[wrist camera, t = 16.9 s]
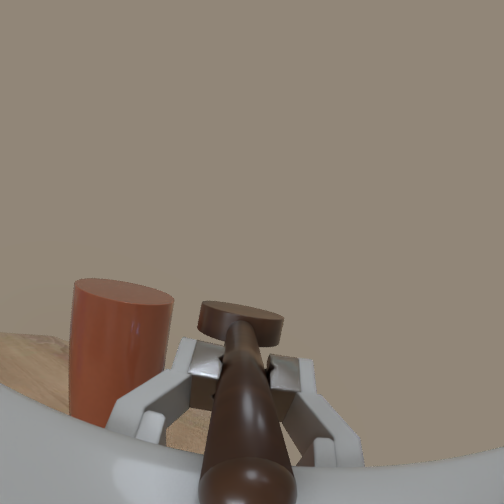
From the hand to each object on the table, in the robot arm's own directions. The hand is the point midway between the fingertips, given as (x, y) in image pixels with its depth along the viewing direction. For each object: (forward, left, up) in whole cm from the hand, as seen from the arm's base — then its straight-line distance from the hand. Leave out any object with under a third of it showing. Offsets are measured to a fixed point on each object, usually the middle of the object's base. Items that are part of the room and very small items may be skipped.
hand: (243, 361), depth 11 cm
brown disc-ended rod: (0, -3, -1) cm, 3 cm away
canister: (+13, -21, -27) cm, 37 cm away
